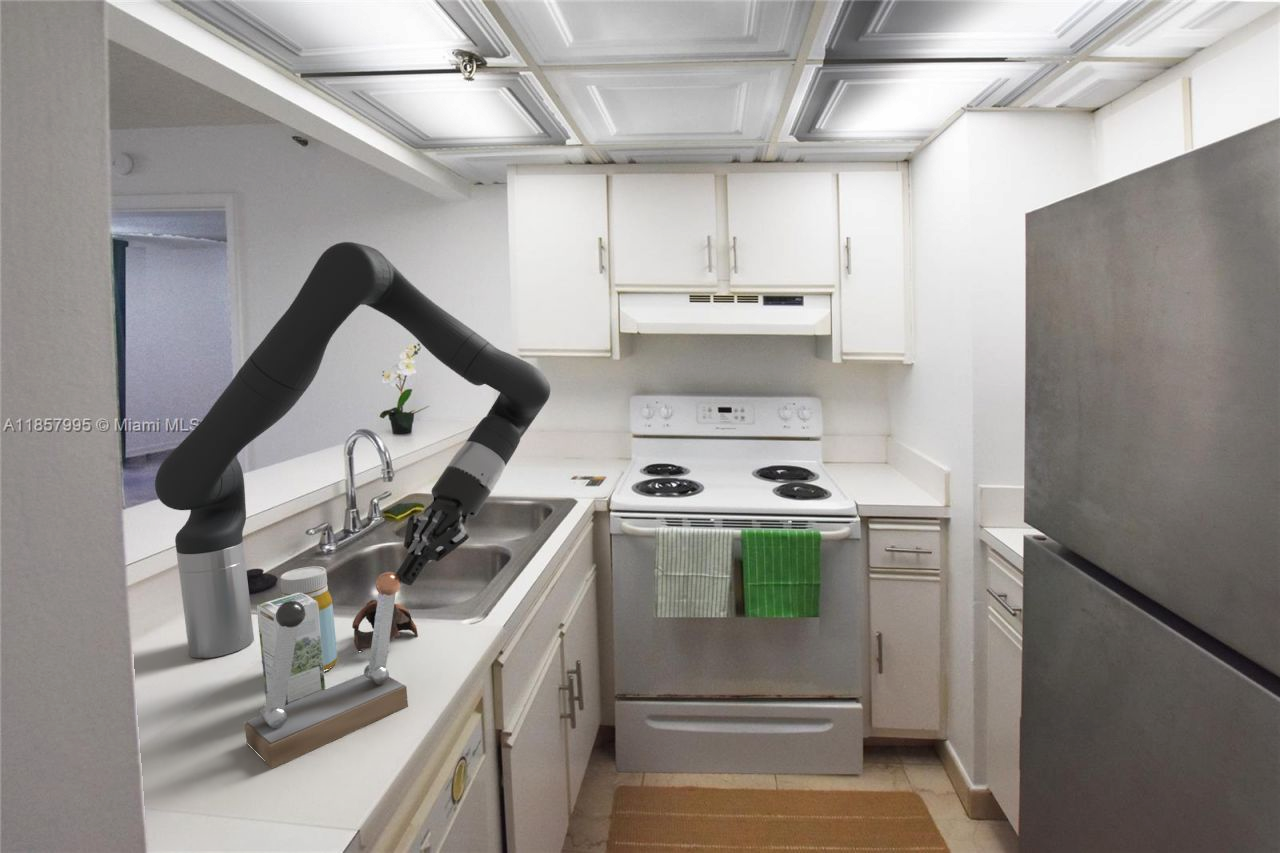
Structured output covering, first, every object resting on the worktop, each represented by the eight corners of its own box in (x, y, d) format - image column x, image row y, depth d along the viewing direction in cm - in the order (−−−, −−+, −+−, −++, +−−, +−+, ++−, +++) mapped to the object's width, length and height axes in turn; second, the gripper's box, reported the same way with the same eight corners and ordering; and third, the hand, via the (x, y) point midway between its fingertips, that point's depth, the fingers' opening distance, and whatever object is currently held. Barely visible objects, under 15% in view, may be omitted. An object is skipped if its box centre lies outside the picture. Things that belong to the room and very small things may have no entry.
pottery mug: (432, 642, 111) (411, 610, 106) (381, 682, 106) (357, 651, 102) (400, 607, 119) (380, 576, 114) (352, 643, 114) (329, 612, 110)
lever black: (252, 721, 80) (274, 598, 81) (280, 717, 82) (301, 597, 84) (262, 731, 78) (284, 604, 79) (291, 725, 80) (311, 603, 82)
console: (246, 744, 82) (244, 721, 82) (378, 688, 95) (376, 668, 94) (272, 768, 77) (269, 744, 76) (408, 706, 89) (406, 685, 89)
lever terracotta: (358, 679, 90) (373, 570, 91) (380, 675, 92) (394, 569, 93) (369, 686, 88) (384, 574, 89) (392, 682, 90) (406, 573, 91)
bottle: (285, 683, 97) (274, 584, 96) (289, 664, 104) (279, 570, 102) (337, 672, 100) (328, 575, 98) (338, 654, 106) (329, 562, 105)
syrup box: (308, 688, 96) (298, 590, 94) (328, 700, 92) (317, 598, 90) (265, 705, 91) (254, 603, 90) (284, 719, 87) (273, 612, 86)
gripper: (427, 461, 102) (358, 560, 94) (480, 467, 94) (408, 577, 86) (460, 488, 107) (396, 585, 99) (512, 497, 98) (447, 604, 90)
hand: (402, 581), depth 92 cm, fingers closed
